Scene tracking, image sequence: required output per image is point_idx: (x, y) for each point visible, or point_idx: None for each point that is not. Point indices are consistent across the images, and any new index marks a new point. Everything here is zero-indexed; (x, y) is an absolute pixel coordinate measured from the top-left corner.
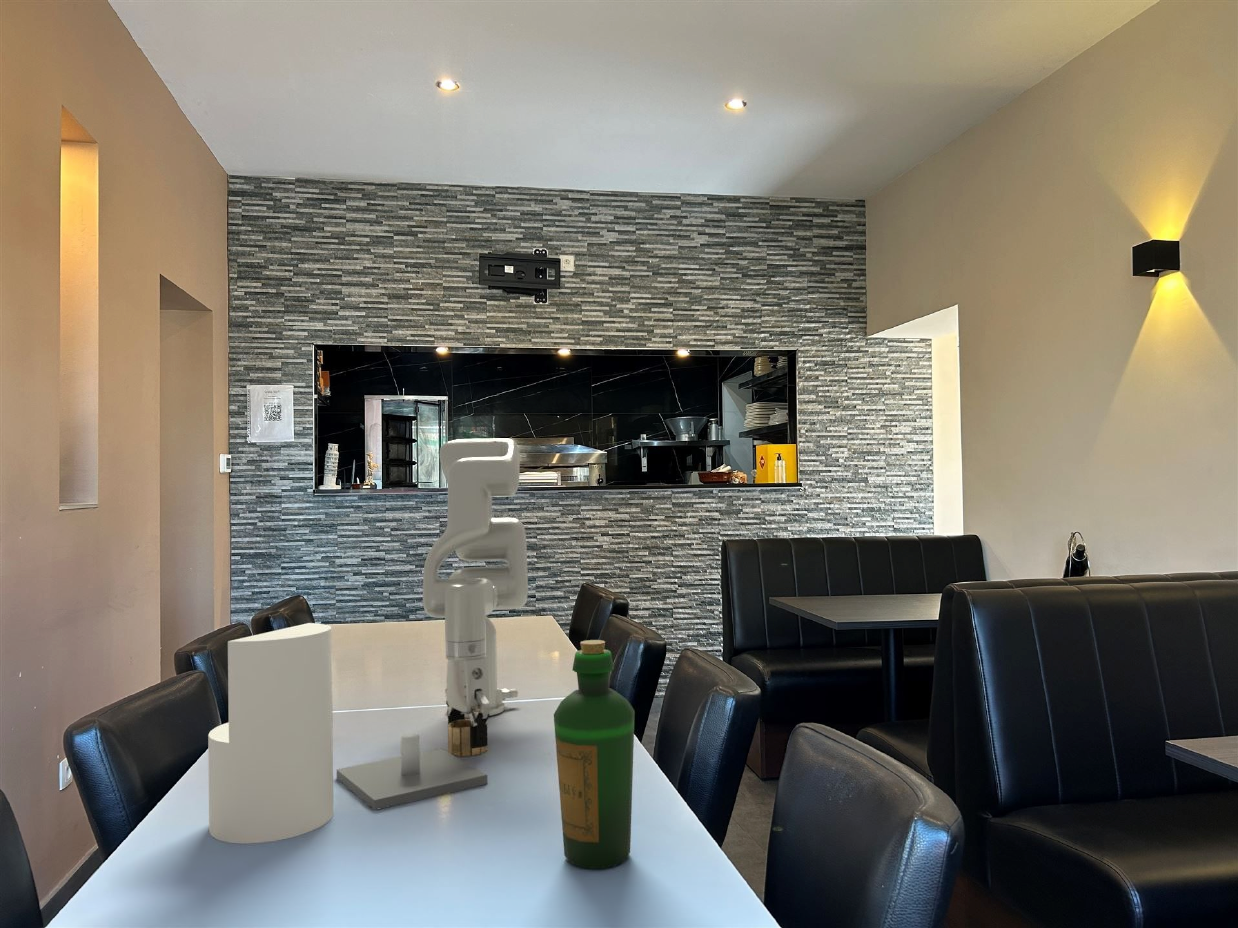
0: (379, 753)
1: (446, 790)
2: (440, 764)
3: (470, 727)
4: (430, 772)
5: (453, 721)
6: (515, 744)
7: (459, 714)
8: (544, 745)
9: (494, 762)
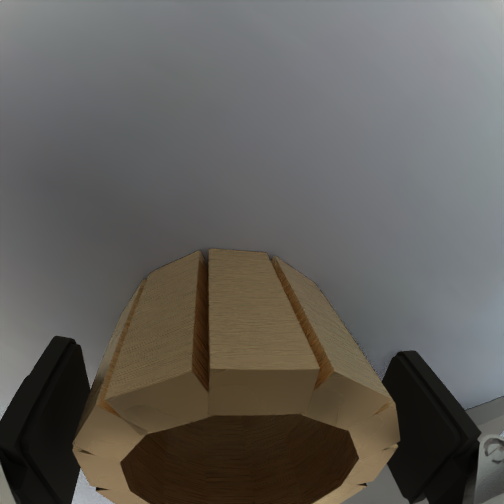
0: (74, 495)
1: None
2: (384, 486)
3: (413, 497)
4: (402, 496)
5: (112, 498)
6: (338, 72)
7: (30, 473)
8: (451, 11)
9: (457, 329)
